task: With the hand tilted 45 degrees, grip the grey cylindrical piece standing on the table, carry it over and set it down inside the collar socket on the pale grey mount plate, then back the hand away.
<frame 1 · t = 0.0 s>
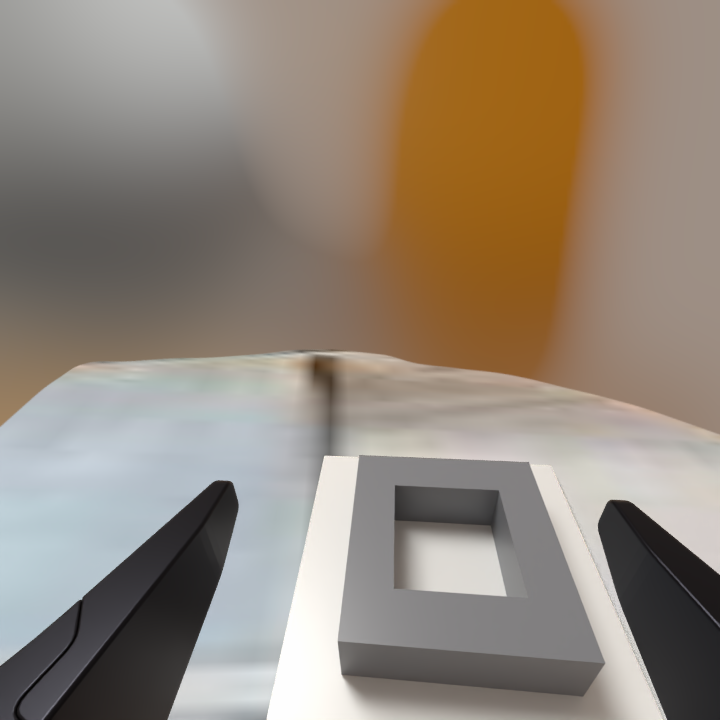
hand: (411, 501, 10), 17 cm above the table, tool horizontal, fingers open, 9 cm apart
mount: (445, 578, 24), on the table
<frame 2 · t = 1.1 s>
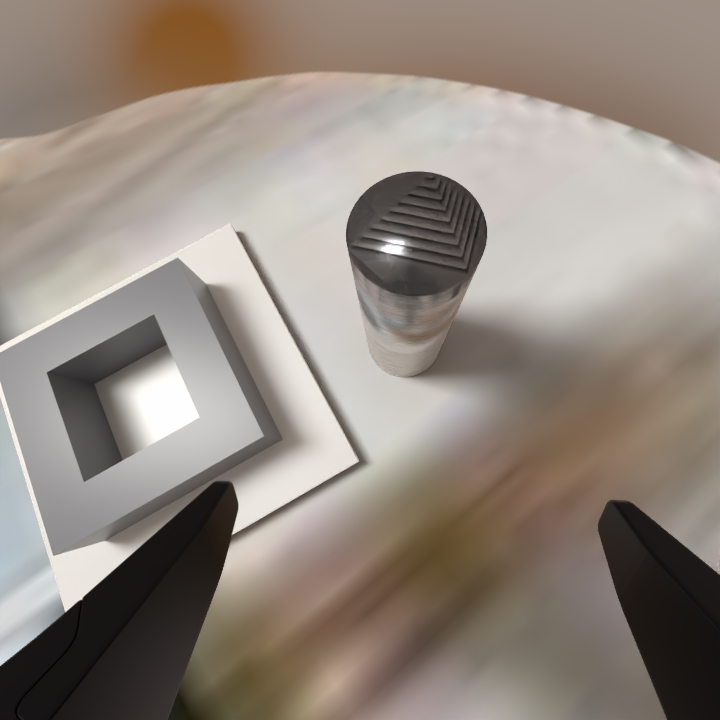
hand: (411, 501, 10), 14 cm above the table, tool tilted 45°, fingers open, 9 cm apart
mount: (168, 405, 25), on the table
grey cylindrical piece: (404, 341, 25), on the table
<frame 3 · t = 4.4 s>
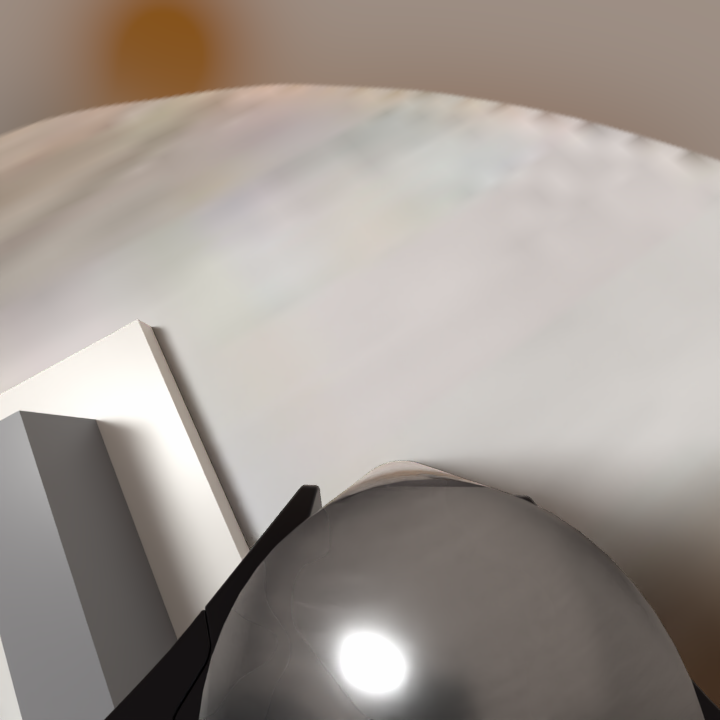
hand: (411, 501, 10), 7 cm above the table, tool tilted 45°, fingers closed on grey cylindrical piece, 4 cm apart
mount: (31, 617, 16), on the table
grey cylindrical piece: (403, 518, 16), on the table, touching gripper
when the fingers open (9 cm above the table, at t = 8.7 s): grey cylindrical piece drops 1 cm, resting on mount.
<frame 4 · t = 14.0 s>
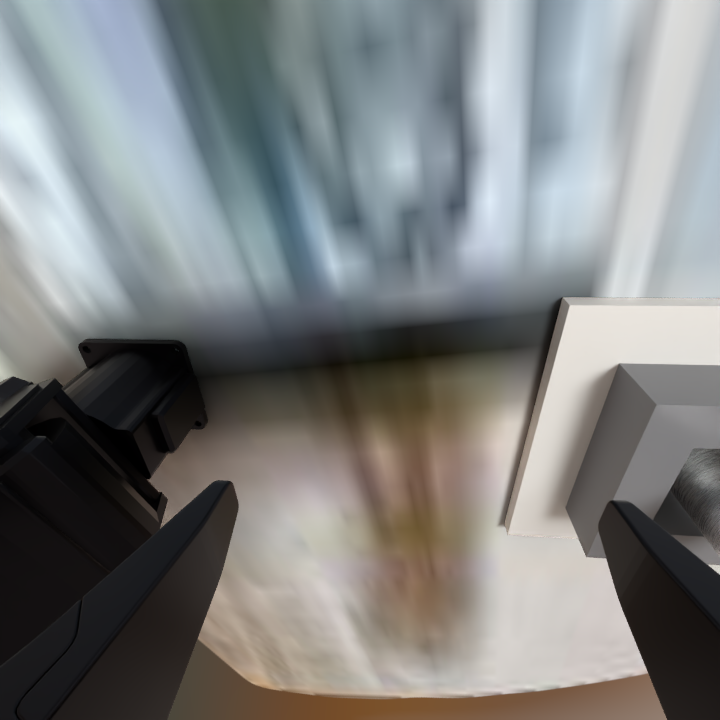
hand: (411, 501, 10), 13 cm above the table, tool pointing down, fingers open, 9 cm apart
mount: (680, 436, 24), on the table
grey cylindrical piece: (690, 448, 23), point 1 cm above the table, touching mount
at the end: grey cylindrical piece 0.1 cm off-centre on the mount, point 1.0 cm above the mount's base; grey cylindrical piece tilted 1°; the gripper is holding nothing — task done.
